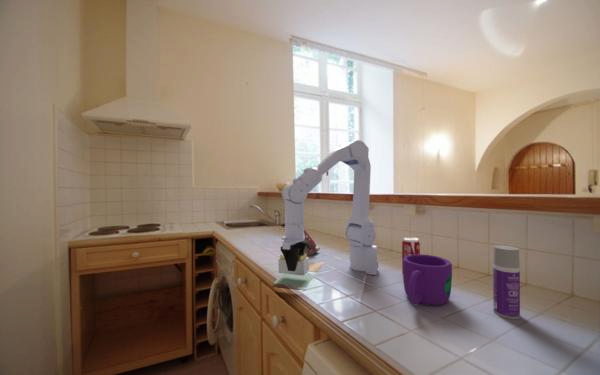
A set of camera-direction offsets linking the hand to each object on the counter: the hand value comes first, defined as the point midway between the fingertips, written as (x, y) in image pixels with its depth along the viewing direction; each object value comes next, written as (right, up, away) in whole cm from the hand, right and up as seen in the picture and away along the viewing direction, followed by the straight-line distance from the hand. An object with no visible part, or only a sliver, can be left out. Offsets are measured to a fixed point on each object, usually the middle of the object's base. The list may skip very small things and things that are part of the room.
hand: (294, 267), depth 78 cm
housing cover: (0, +3, 0) cm, 3 cm away
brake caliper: (+4, -5, +30) cm, 30 cm away
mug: (+32, -5, -14) cm, 35 cm away
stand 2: (+4, -4, +12) cm, 14 cm away
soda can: (+37, -4, +5) cm, 38 cm away
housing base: (0, -1, 0) cm, 1 cm away
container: (+48, -4, -20) cm, 52 cm away
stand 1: (0, -4, 0) cm, 4 cm away
